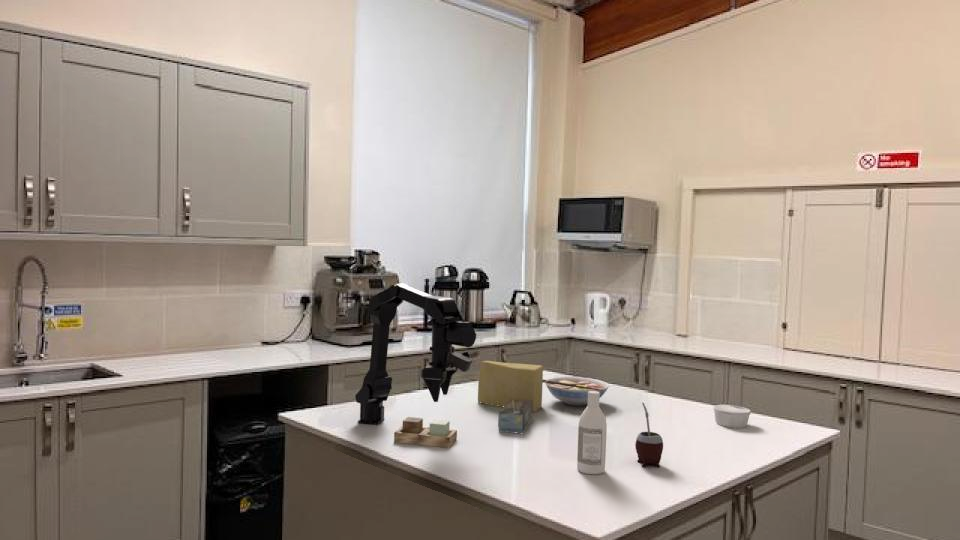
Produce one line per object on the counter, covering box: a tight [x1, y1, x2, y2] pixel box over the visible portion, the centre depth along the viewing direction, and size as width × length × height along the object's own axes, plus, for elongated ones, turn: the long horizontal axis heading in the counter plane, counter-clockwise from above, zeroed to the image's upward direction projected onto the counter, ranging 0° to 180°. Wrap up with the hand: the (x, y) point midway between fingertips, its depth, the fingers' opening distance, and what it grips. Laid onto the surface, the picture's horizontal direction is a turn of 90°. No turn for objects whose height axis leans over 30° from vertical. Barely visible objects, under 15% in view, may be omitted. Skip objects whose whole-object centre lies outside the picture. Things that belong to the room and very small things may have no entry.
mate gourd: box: [634, 402, 664, 469], centre depth 181 cm, size 8×8×15 cm
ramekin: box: [713, 404, 751, 429], centre depth 224 cm, size 11×11×5 cm
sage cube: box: [429, 419, 451, 437], centre depth 195 cm, size 4×4×4 cm
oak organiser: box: [393, 425, 458, 448], centre depth 196 cm, size 16×8×3 cm, turn 77°
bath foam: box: [576, 391, 607, 476], centre depth 174 cm, size 7×7×20 cm
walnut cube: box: [402, 416, 424, 434], centre depth 196 cm, size 4×4×4 cm
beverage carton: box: [497, 399, 533, 434], centre depth 216 cm, size 8×19×7 cm, turn 167°
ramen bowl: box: [542, 376, 610, 407], centre depth 246 cm, size 25×23×8 cm
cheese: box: [477, 360, 544, 413], centre depth 239 cm, size 22×10×15 cm, turn 68°
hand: (440, 398), depth 194 cm, fingers open, 9 cm apart
